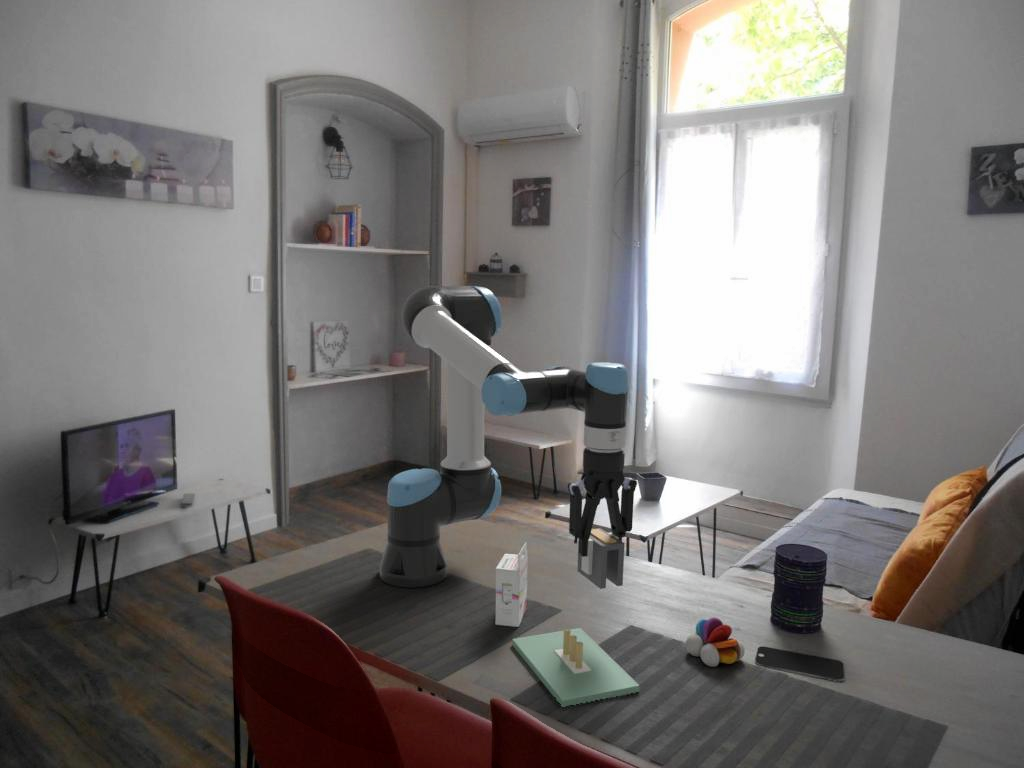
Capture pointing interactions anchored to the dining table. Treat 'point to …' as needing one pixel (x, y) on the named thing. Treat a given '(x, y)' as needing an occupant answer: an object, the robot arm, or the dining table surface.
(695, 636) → the rainbow wheeled toy
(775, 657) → the smartphone
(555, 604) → the dining table surface
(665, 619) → the dining table surface
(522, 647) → the header board
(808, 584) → the storage jar
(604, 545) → the plug housing
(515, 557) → the ink cartridge box
